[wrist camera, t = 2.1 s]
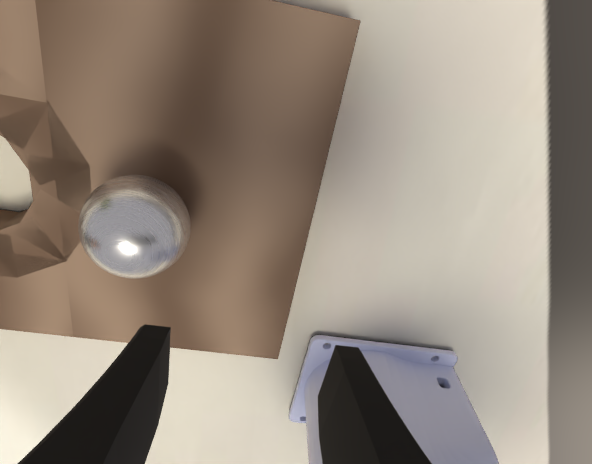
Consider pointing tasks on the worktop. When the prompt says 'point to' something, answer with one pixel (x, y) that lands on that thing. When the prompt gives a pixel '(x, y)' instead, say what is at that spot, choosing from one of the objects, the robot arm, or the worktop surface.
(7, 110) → the deck
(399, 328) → the worktop surface
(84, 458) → the robot arm
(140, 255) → the ball
